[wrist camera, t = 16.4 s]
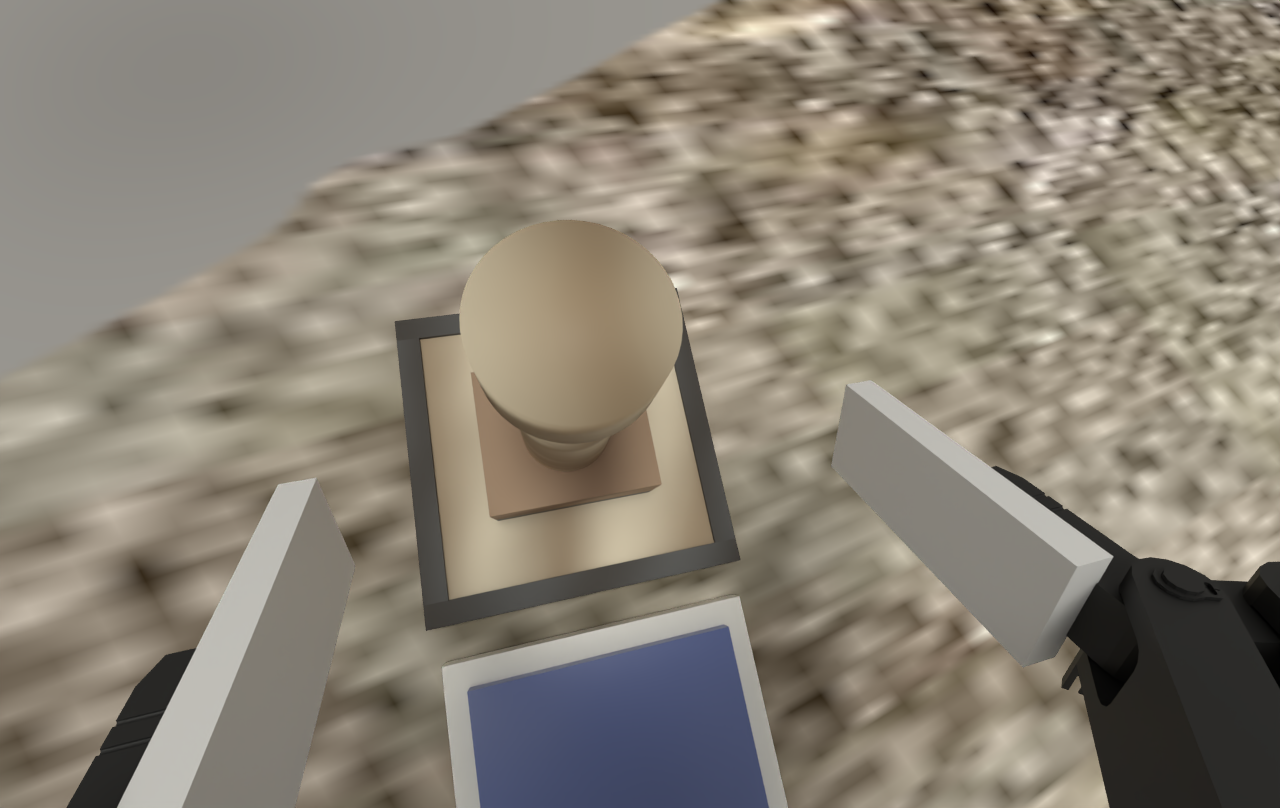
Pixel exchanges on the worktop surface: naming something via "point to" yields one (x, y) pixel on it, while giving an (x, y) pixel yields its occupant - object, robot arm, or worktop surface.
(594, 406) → the stamp
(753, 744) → the ink pad
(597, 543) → the marked board
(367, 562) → the worktop surface
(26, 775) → the worktop surface
